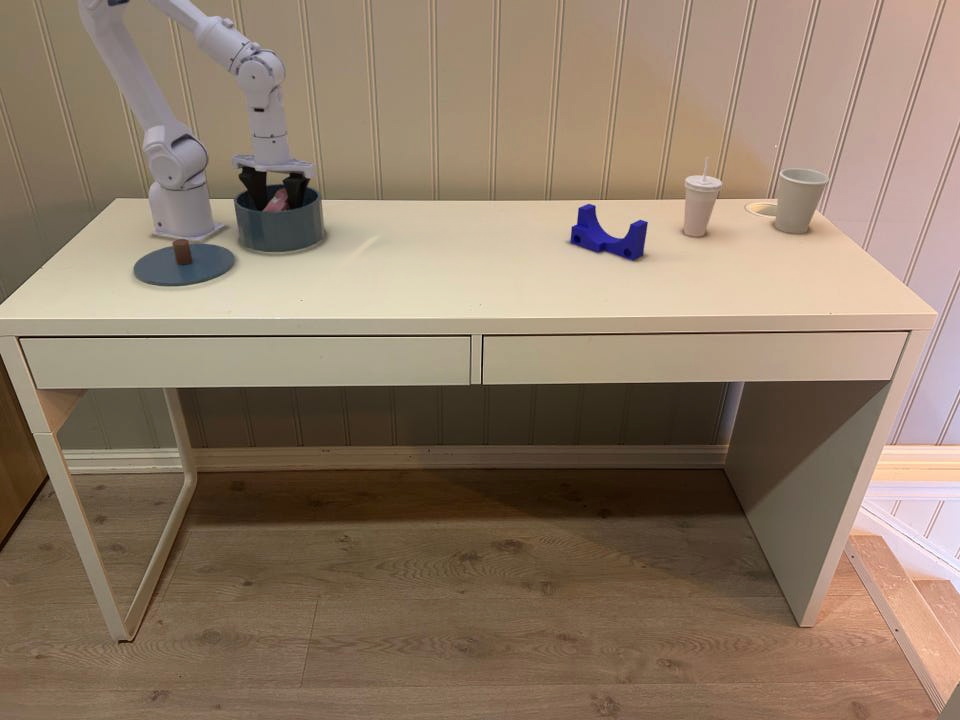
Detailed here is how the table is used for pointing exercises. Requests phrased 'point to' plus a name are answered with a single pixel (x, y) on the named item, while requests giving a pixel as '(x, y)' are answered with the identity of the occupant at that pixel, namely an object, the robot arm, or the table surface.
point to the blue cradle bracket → (607, 235)
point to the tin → (279, 222)
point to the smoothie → (699, 201)
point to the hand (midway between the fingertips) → (279, 213)
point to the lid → (183, 264)
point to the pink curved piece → (279, 202)
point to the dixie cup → (798, 198)
